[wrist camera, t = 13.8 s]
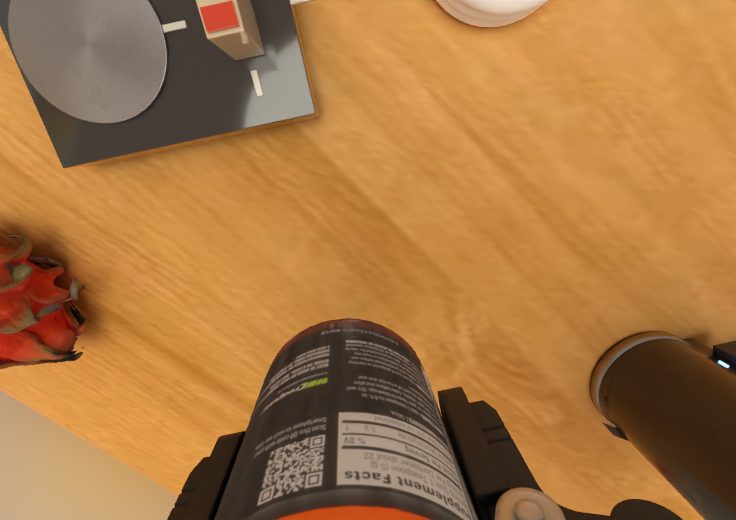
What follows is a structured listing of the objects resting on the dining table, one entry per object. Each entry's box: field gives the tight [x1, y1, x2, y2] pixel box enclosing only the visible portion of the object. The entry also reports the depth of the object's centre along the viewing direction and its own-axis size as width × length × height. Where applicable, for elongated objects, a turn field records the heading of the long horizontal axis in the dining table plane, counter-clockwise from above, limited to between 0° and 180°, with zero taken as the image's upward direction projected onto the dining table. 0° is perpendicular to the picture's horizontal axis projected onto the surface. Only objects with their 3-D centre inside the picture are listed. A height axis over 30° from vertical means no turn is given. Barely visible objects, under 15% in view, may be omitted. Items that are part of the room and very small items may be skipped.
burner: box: [8, 0, 169, 124], centre depth 21 cm, size 8×8×1 cm
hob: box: [0, 0, 319, 168], centre depth 22 cm, size 17×12×3 cm
